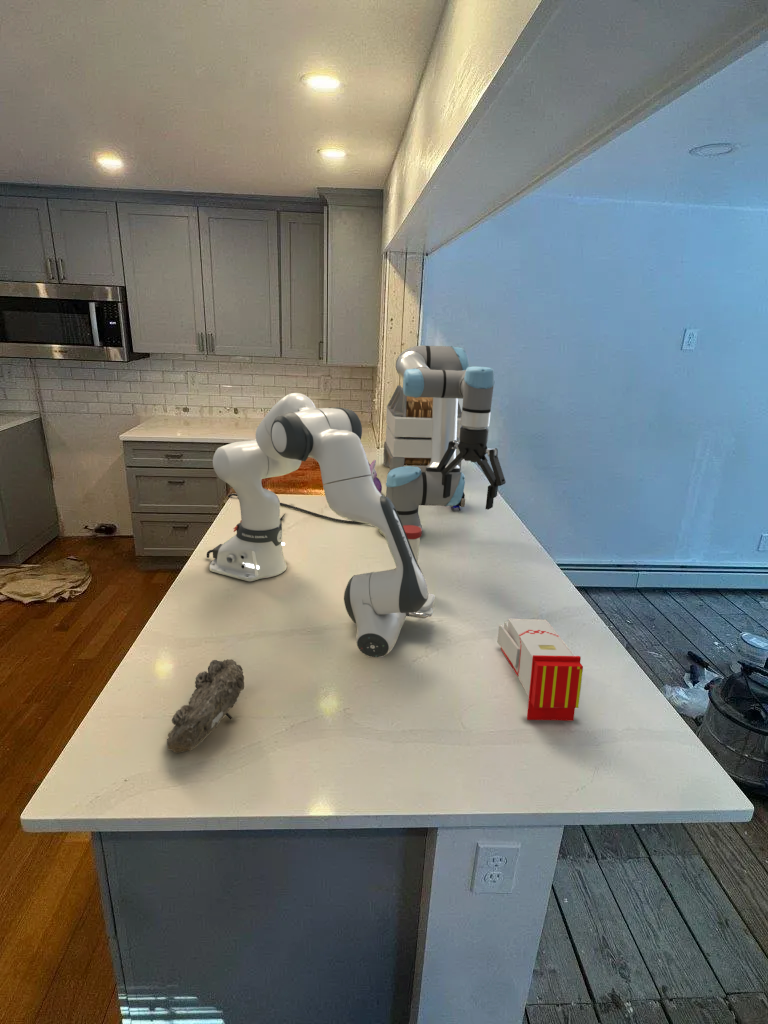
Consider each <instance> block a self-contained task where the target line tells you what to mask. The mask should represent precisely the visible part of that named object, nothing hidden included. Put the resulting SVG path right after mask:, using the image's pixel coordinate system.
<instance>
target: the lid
mask: <svg viewBox="0 0 768 1024" xmlns="http://www.w3.org/2000/svg"><path fill="white" fill-rule="evenodd" d="M403 528H404V530H405V533H406V535H407V538H408V539H417V538H420V539H421V537H422V535H423V528H422V529H421V528H420V527H418V526H414V525H404V526H403Z"/></svg>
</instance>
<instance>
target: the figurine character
mask: <svg viewBox="0 0 768 1024" xmlns="http://www.w3.org/2000/svg"><path fill="white" fill-rule="evenodd" d="M465 496H466V494H465V492H463V495H462V498H461V501H460V502H459V503H458V504H457V505H454V506H449V508H450V509H451V511H454V509H458V511H461V510H462V509H461V508H465V505H466V497H465Z"/></svg>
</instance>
